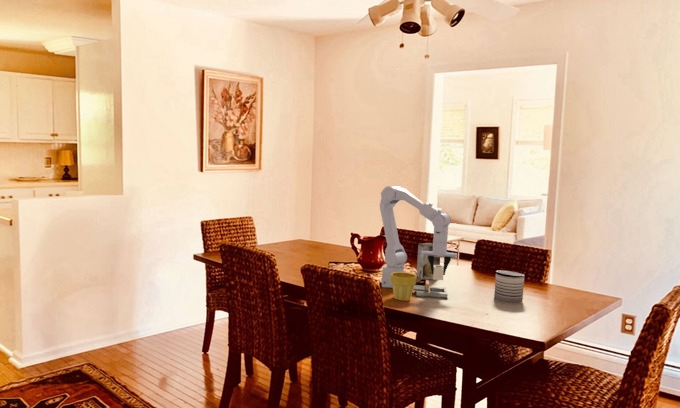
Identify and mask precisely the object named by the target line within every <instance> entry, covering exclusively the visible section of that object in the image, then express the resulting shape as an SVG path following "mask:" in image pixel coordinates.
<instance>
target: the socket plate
mask: <svg viewBox="0 0 680 408" xmlns="http://www.w3.org/2000/svg"><path fill="white" fill-rule="evenodd" d="M415 291H416V292H415V293H416V295H415V296H416V298H417V297H418V298H426V299H427V298H428V299H430V298H432V299H441V300H447V299H448V294H449V293H448V290H447V287H445V286H444V287H442V286H430V285H429V291H418V290H415Z"/></svg>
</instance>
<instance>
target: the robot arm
mask: <svg viewBox="0 0 680 408" xmlns="http://www.w3.org/2000/svg"><path fill="white" fill-rule="evenodd" d="M400 201H405V202H406V203H408V204H409V205H411V206H413V207H415V209H417V210H418V211H419V214H420V215H421V216H423V217H424V218H426V219H427V220H428V221H430V222H431V223H432V225H433V239H432V241H433V242H432V243H433V251H422V256H428V260H429V262H430V266H431V270H432V274H433V273H434V268H433V267H434V257H440V258H443V267H444V272H443V276H445V275H446V272H447V268H448V266H449V265H450V263H451V261H452V260H451V259H454V260H455V259H458V253H457V252H449V251H447V250H448V237H449V236H448V233H449V226H450V224H451V222H452V218H451V216H450V215H449V214H448V212H445V211H444V212H443V211H442V210H441V209H439V208H436V207H435V206H433V203H432V202H423V201H422V200H420V198H418V197H416V196H415V195H414V194H413V193H411V192H410V191H408V189H407V188H406V187H405V188H404V187H403V186H402V185H392V186H390V185H387V186H385V187H384V188H383V190H381V192H380V203H379V210H380V214H381V215H380V216H381V221H382V225H383V230H384V231H383V232H384V235H385V240H386V241H385V242H386V244H387V245H386V248H385V250H384V252H385V253H384V255H385V256H384V263H386V265H382V272H381V279H380V281H381V287H382V288H389V289H391V288H392V289H393V286H392V283H391V274H392V273H394V272H405V270H404V269H405V263H406V262H407V260H408V254H407V253H406V251H405V248H404V246H403V245H402V244H401V242H400V239H399V234H398V228H397V222H396V218H395V214H394V207H395V206H396V205H397V203H398V202H400Z"/></svg>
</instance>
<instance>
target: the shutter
mask: <svg viewBox="0 0 680 408" xmlns="http://www.w3.org/2000/svg"><path fill="white" fill-rule="evenodd" d="M429 286H430V281H429V280H428V279H425V285H421V284H420V285H418V284H415V285H414V288H413V291H416V290H418V291H429Z"/></svg>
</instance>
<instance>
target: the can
mask: <svg viewBox="0 0 680 408" xmlns="http://www.w3.org/2000/svg"><path fill="white" fill-rule="evenodd" d="M495 272H496V273H495V282H494V294H493V300H494V301H496V302H498V303H502V304H507V305H519V304H520V305H521V304H522V303H523V301H524V299H523V298H524V287H525V285H524V284H525V274H523V273H520V272H518V271H517V272H516V271H509V270H500V269H499V270H496V271H495Z"/></svg>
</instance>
